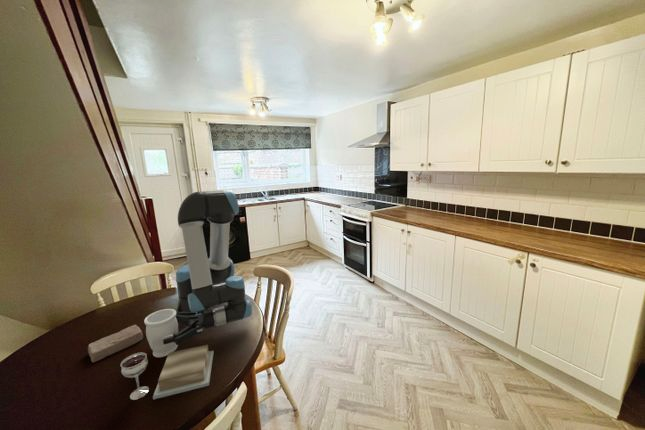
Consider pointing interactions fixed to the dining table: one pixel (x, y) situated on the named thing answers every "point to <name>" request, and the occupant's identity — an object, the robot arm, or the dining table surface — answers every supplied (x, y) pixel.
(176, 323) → the jar
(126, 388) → the dining table surface
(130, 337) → the brick
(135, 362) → the wineglass
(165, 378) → the plinth
